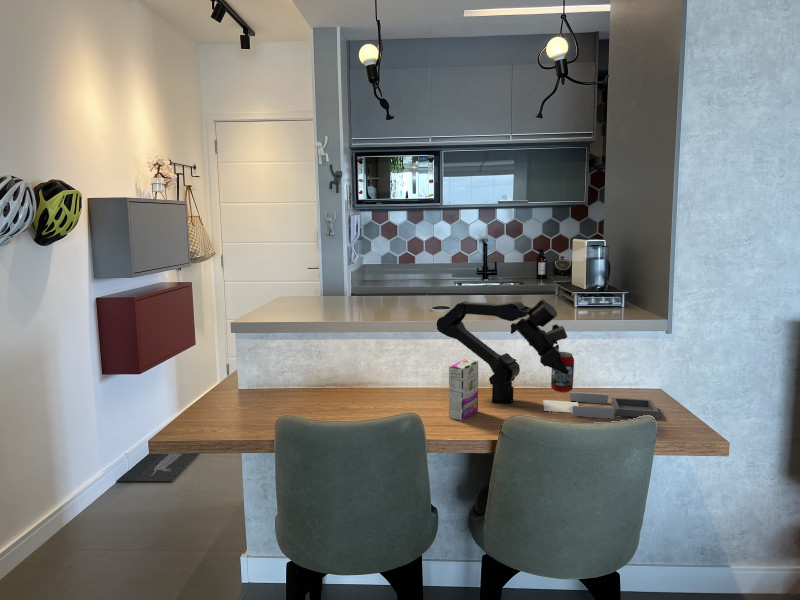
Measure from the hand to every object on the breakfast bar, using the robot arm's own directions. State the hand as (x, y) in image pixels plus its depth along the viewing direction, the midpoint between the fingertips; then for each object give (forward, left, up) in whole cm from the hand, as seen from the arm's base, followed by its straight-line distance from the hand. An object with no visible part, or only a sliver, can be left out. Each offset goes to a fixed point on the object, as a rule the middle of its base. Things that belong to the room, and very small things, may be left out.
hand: (567, 370), depth 193 cm
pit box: (+21, 0, -12) cm, 24 cm away
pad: (-1, 0, -12) cm, 12 cm away
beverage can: (-1, 0, -7) cm, 7 cm away
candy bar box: (-31, -14, -12) cm, 37 cm away
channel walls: (+8, 0, -12) cm, 14 cm away
